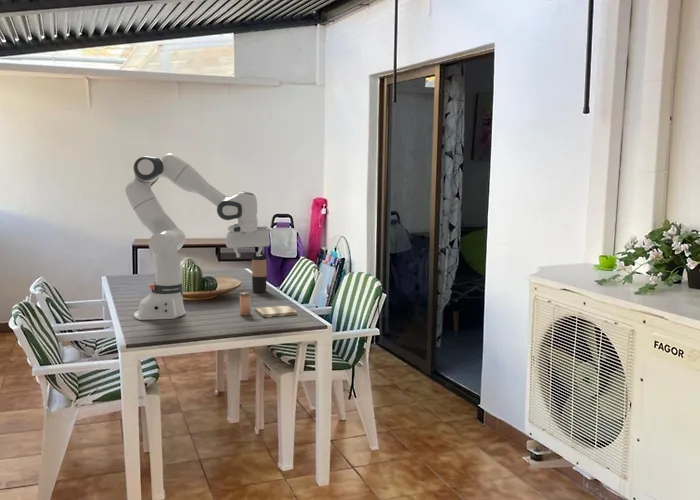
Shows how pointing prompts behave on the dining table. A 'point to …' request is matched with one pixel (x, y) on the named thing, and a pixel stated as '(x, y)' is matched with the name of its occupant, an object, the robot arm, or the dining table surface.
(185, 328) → the dining table surface
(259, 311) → the birch board
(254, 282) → the travel mug
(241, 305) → the terracotta jar
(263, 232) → the robot arm
